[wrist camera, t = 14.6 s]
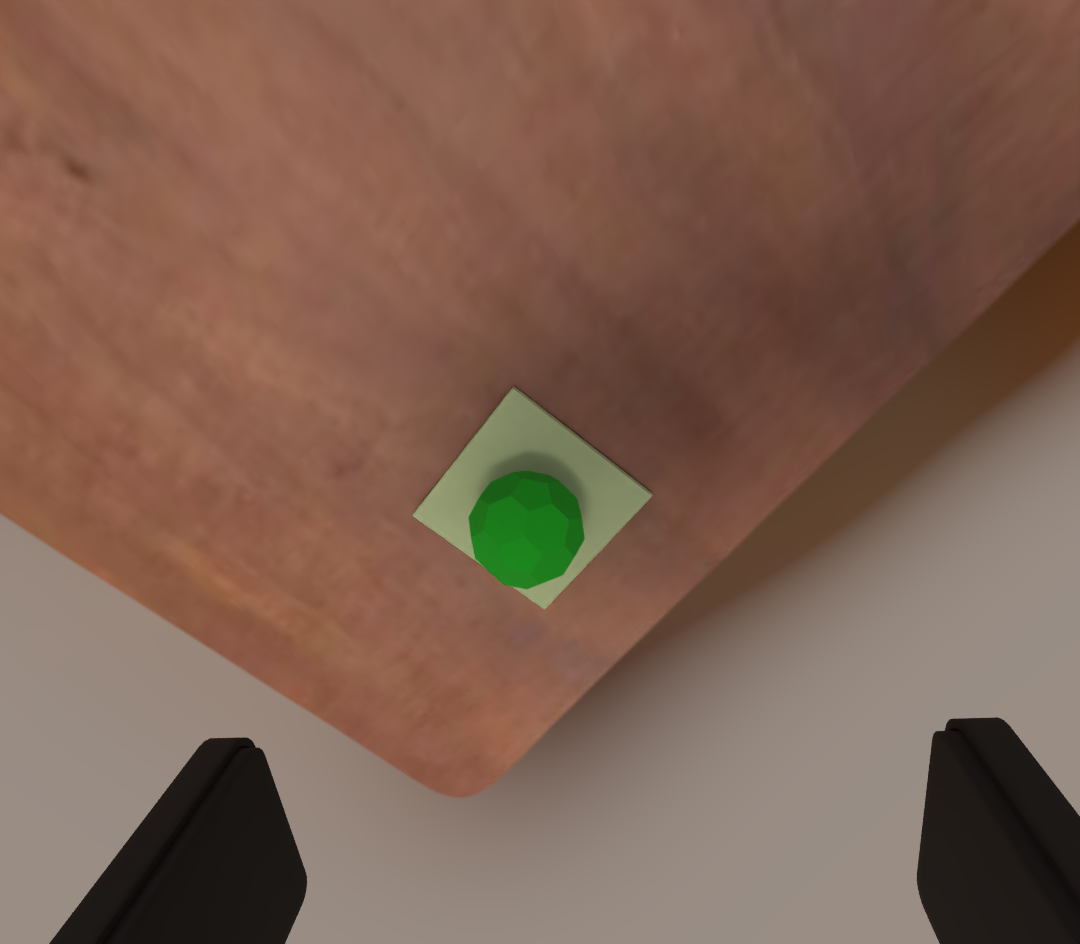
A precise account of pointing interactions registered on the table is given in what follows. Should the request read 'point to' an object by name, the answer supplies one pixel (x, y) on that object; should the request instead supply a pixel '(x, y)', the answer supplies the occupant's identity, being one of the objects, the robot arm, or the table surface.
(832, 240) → the table surface
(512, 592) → the table surface
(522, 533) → the polyhedron
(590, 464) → the mat
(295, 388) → the table surface
